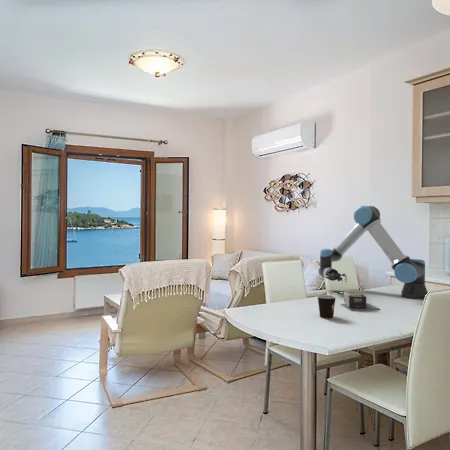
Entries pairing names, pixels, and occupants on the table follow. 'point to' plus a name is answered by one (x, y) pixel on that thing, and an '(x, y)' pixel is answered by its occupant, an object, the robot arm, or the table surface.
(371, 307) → the mat
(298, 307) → the table surface
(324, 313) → the coffee mug
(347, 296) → the coffee box
